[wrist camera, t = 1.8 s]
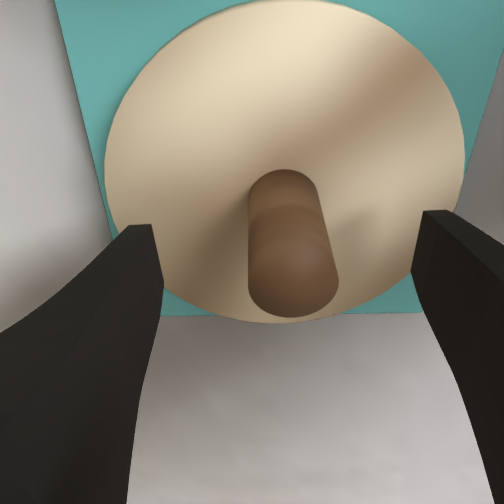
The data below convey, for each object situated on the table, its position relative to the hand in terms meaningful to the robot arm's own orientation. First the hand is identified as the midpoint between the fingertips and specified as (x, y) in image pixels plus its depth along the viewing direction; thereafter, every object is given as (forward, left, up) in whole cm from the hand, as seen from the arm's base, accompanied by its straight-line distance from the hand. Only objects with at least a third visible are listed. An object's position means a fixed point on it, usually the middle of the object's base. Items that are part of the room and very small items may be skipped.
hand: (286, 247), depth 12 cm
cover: (0, 0, -3) cm, 3 cm away
